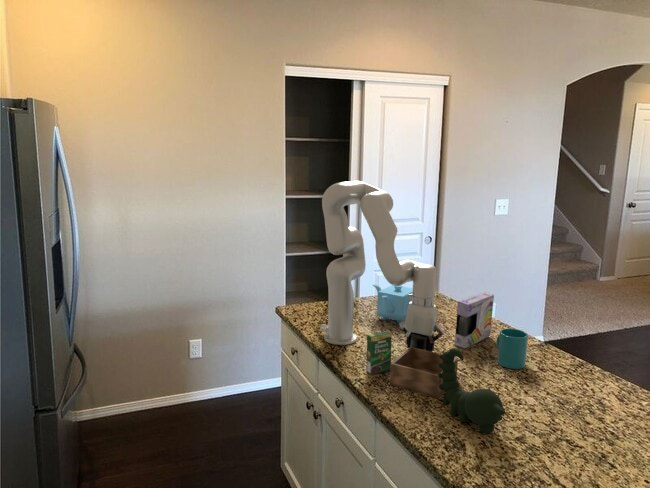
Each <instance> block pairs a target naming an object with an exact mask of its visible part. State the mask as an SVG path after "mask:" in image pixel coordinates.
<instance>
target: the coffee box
mask: <svg viewBox="0 0 650 488" xmlns="http://www.w3.org/2000/svg"><path fill="white" fill-rule="evenodd" d="M391 360H392V333H391V332H389V331H388V330H386V331H382V332H376V333H371V334H366V372H367V373H368V374H369V375H377V374H379V373H385V372H390V364H391V363H392V361H391Z"/></svg>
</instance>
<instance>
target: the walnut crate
mask: <svg viewBox="0 0 650 488" xmlns="http://www.w3.org/2000/svg"><path fill="white" fill-rule="evenodd" d="M440 355H443V353H438V352H435V351H432V352H431V351H426V350H422V349H418V348H414V347H410V348H407V349H406V350H405V351H404V352H403V353H401V355H399V356H398V357H396V359H394V360H393V361H391V364H390V371H389V385H390V386H393V387H395V388H396V387H397V388H399V389H403V390H406V391H407V390H408V391H411V392H413V393H417V394H420V395H424V396H428V397H432V398H435V399H441V397H442V396H443V395H444V394H446V392H445V391H444V390H441V389H439V385H440V384H442V383H443V379H442V378H439V377H438V374H439V373H442V372H443V370H442V368H440V367H439V363H442V362H443V361H442V359H440ZM458 359H459V357H457V356H456V357H454V363H455V366H456V367H455V370H454V371H455V372H456V374H458V364H459V363H458V361H459V360H458Z"/></svg>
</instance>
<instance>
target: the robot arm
mask: <svg viewBox="0 0 650 488" xmlns="http://www.w3.org/2000/svg"><path fill="white" fill-rule="evenodd" d="M321 203H322V204H321V206H322V207H321V208H322V212H323V217H324V225H325V228H324V229H325V238H326V245H327V249H328V251H329V253H331V254H333V255H335V256H340V255H342V257H338V258H336V259H334V260H332V261H330V263H329V264H328V266H327V268H326V272H325V273H326V280H327V281H326V282H327V286H328V287H327V288H328V316H327V317H328V324H325V323H322V324H320V329H319V330H320V331H321V332H325V333H324V335H323V340H324V341H325V342H327V343H329V344H332V345H336V346H337V345H339V346H347V345H351V344H354V343H355V342H357V340H358V335H357V334H356V333H354V305H355V304H354V303H355V301H354V299H355V294H354V289H353V285H352V282H353V281H355V280H357V279H359V278H361V277H362V276H363V275H364V274H365V272H366V255H365V244H364V238H363V235H362V234H361V232H360V230H359V229H357V227H354V226H349V221H348V220H349V219H348V218H349V217H348V215H347V213H346V210H345V206H350V205H359V208H360V211H361V213H362V214H363V217H364V219H365V220H366V223H367V225H368V227H369V229H370V232H371V234H372V236H373V239H374V241H375V243H374V244H375V245H374V246H375V255H376V256H375V257H376V261H377V264H378V266H379V269H380V270H381V273H382V275H383V277H384V278H385V280H386V282H387V283H389V284H390V286H392V285H394V286H400V285H401V286H403V285H405V284H406V283H410V282H412V288H413V291H412V294H411V295H410V294H409V295H408V298H410V299H411V301H412V302H410V303H409V306H408V310H407V315H406V319H405V320H404V321H402V322H401V323H398V325H399V327H400V328H401V330H402V332H403V334H405V337H406V341H405V344H406V348H407V349H409V348H410V339H411V333H412V332H413V333H417V334H422V335H426V336H428V338H429V342H428V351H431V352H434V349H435V342H436V341H437V340H439V339H440V338H441V337H442V336H444V334H445V332H444V331H443V329H442V328H441V327H440V326H439V325H438V312H437V311H438V310H437V306H436V304H435V297H436V284H437V282H436V281H437V268H436V266H435V265H433V264H430V263H421V262H417V261H414V260H412V259H403V260H399V258H398V257H397V254H396V250H395V241H396V236H397V234H398V226H397V225H396V223H395V221H394V219H393V217H392V215H391V211H392V209H393V207H394V200H393V197H392V196H391V195H390V194H389V193H388V192H387V191H385V190H384V189H380V188H378V187H376V186H374V185H371V184H369V183H367V182H364V181H360V180H352V181H351V180H350V181H341V182H336V183H334V184H331V185H330V186H329V187H328V188H327V189H326V190H325V191H324V193H323V194H322V197H321ZM435 333H437V334H436V335H435Z"/></svg>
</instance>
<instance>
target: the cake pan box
mask: <svg viewBox="0 0 650 488" xmlns="http://www.w3.org/2000/svg"><path fill="white" fill-rule="evenodd" d="M494 298H495V294H493V293H489V292H486V291H483V292H480V293H479V294H474V295H471V296H468V297H467V298H464V299H461V300H458V301H457V306H456V307H457V309H456V322H455V334H454V335H455V336H454V346H456V347H457V348H458V347H459V348H461V349H467V348H469V347H471V346H473V345H475V344H477V343H479V342H481V341H483V340H485V339H487V338H489V337H491V329H492V322H493V321H492V318H493V310H494V309H493V308H494Z"/></svg>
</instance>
